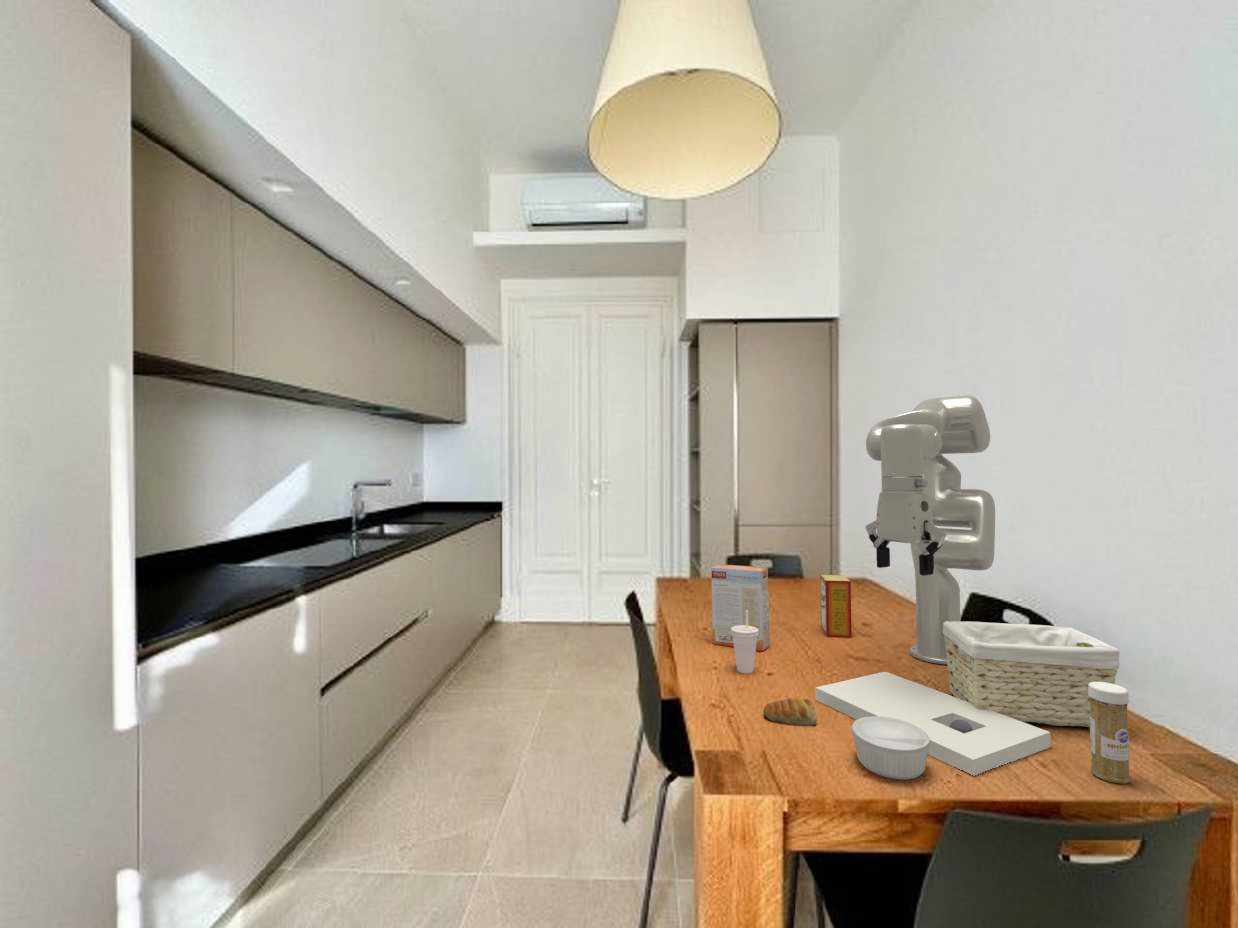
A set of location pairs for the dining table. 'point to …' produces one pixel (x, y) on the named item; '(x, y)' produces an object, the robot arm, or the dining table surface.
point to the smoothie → (745, 646)
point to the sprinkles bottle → (1109, 731)
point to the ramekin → (891, 747)
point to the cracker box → (739, 602)
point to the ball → (961, 726)
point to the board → (938, 720)
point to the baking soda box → (835, 606)
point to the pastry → (792, 711)
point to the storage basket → (1027, 669)
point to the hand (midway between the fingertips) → (904, 570)
